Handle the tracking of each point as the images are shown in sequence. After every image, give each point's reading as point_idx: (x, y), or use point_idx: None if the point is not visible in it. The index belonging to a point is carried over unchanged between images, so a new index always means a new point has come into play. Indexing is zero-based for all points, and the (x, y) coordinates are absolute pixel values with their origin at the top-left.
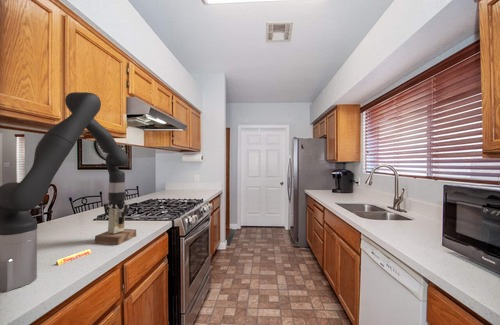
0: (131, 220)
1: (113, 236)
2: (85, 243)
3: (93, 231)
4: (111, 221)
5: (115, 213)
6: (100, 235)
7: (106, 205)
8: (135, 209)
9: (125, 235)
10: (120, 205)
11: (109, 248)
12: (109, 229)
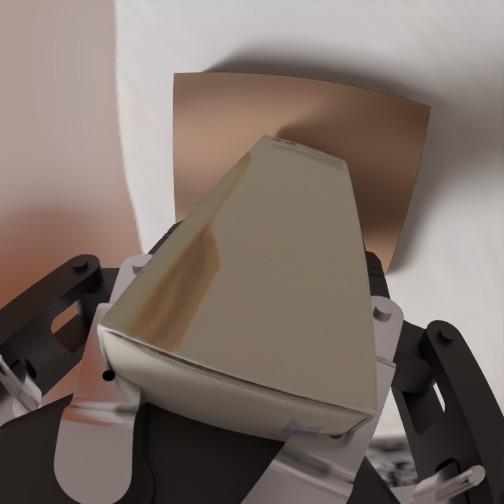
0: (372, 439)
1: (240, 92)
2: (469, 106)
3: (501, 324)
4: (289, 187)
5: (156, 259)
6: (391, 118)
7: (474, 499)
8: (395, 485)
9: (176, 154)
10: (30, 436)
11: (216, 9)
12: (326, 162)
